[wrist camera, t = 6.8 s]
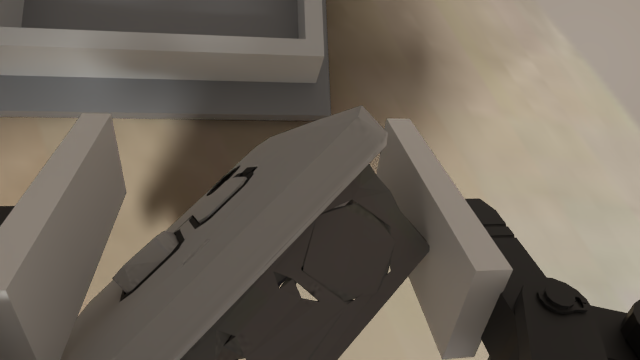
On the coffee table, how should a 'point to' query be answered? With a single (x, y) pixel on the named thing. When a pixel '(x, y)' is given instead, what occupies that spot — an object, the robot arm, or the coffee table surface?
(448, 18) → the coffee table surface
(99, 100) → the housing
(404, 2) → the coffee table surface
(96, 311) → the electrical switch
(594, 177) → the coffee table surface
